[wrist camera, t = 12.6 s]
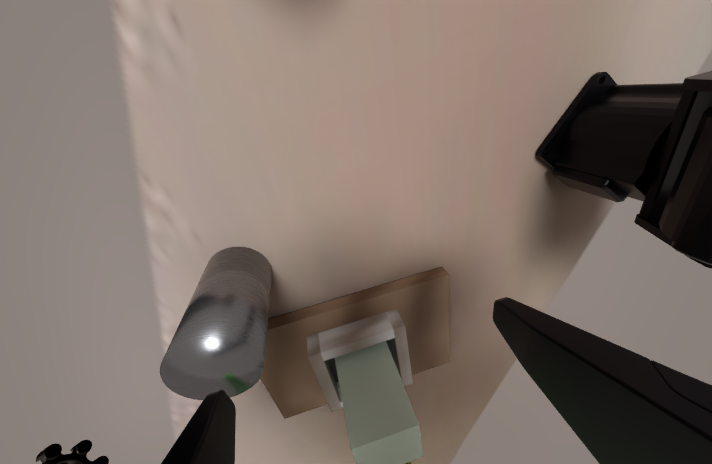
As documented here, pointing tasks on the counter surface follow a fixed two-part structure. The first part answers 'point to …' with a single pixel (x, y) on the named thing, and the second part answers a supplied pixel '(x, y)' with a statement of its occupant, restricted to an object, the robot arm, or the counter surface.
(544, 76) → the counter surface
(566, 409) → the robot arm
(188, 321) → the round peg
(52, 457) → the valve
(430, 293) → the bore board
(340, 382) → the square peg
